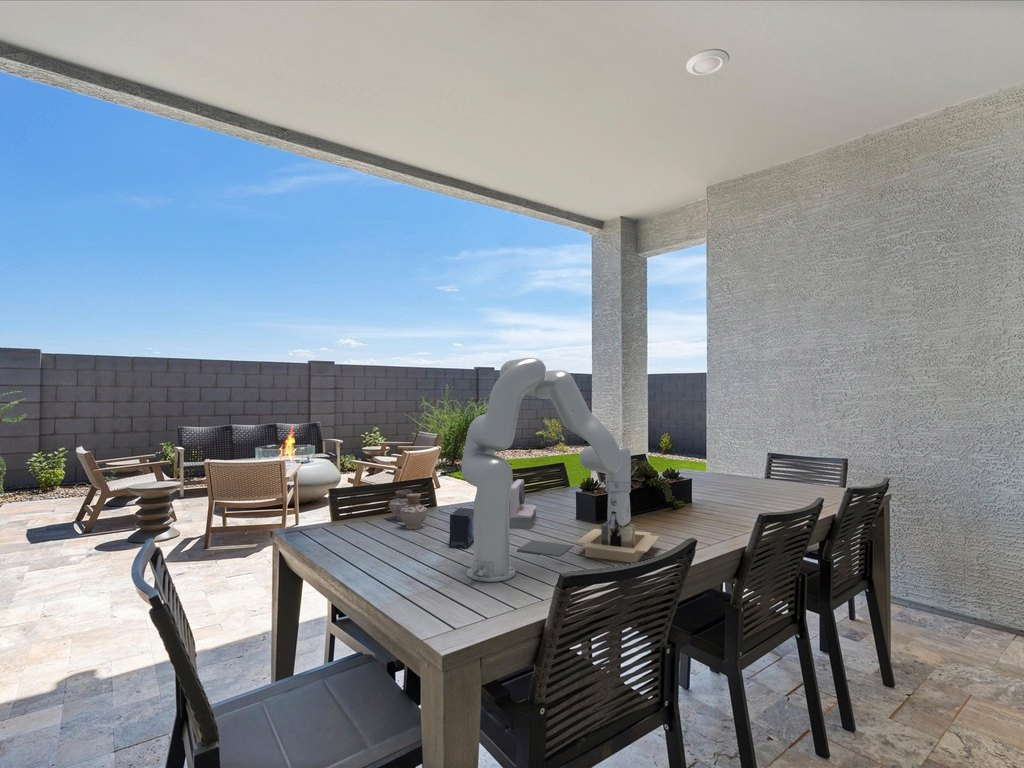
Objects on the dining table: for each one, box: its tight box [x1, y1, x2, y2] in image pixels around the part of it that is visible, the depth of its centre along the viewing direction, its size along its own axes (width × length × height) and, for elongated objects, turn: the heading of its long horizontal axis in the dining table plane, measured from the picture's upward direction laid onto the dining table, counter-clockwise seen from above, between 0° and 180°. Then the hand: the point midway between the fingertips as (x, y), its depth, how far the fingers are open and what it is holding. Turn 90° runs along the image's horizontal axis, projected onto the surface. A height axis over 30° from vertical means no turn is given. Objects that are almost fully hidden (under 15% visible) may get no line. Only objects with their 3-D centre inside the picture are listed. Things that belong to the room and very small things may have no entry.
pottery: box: [388, 489, 428, 530], centre depth 200 cm, size 11×25×12 cm, turn 26°
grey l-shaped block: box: [509, 478, 538, 530], centre depth 202 cm, size 21×21×15 cm
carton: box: [575, 528, 660, 564], centre depth 163 cm, size 24×21×4 cm
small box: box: [448, 507, 474, 549], centre depth 172 cm, size 11×6×10 cm, turn 168°
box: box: [601, 521, 636, 548], centre depth 163 cm, size 5×9×8 cm, turn 64°
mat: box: [516, 539, 575, 558], centre depth 166 cm, size 12×14×1 cm
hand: (618, 545), depth 163 cm, fingers closed on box, 5 cm apart
